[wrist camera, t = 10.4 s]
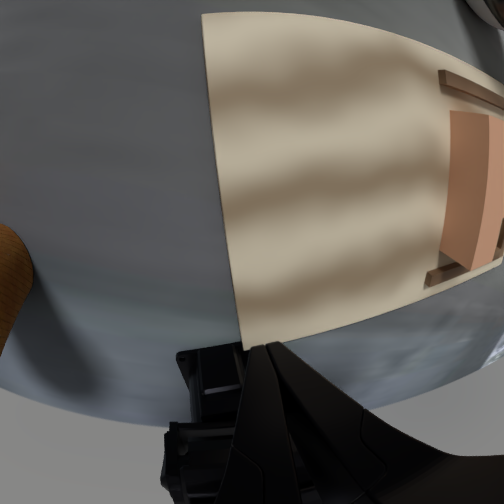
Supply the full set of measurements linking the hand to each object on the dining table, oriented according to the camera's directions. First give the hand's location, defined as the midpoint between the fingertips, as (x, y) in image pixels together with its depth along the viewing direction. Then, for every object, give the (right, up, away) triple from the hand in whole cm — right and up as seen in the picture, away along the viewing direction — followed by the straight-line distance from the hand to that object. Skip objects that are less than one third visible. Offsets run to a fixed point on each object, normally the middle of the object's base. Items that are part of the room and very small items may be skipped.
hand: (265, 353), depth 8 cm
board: (+14, +9, +10) cm, 20 cm away
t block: (+21, +9, +10) cm, 26 cm away
